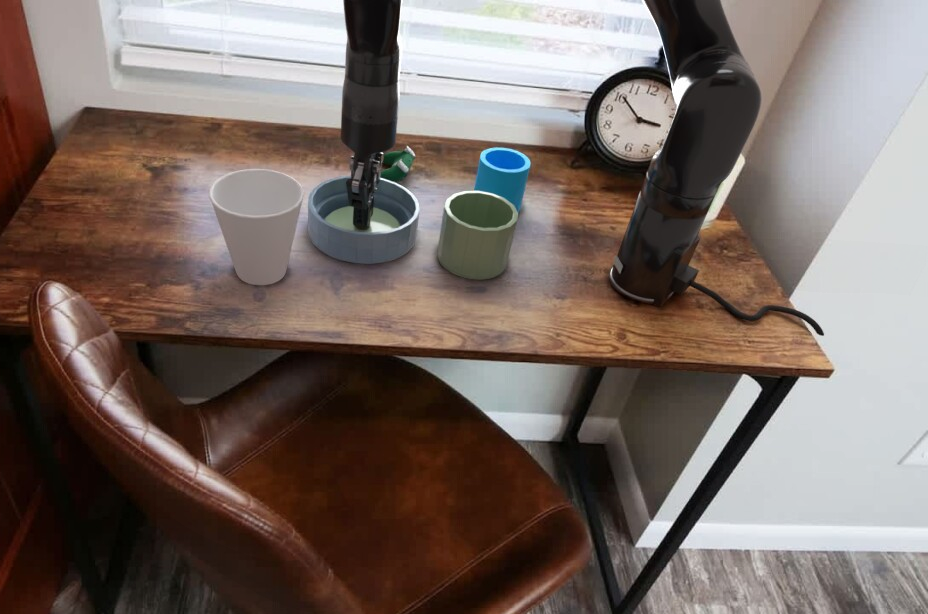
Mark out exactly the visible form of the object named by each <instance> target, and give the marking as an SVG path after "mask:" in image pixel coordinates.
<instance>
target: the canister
mask: <svg viewBox="0 0 928 614" xmlns="http://www.w3.org/2000/svg"><path fill="white" fill-rule="evenodd" d="M518 217H519V212H517V210H516V208H515V206H514V205H513V204H511V203H510V202H509V201H507V200H506V199H505V198H503V197H500V196H498V195H495V194H493V193H488V192H483V191H474V190H463V191H460V192H456V193H453V194H452V195H450V196H449V197H447V198H446V199H445V203H444V206H443V212H442V218H441V219H442V220H441V227H440V232H439V239H438V244H437V253H436V254H437V259H438V261H439V264H440V265H441V266H442V267H443V268H444V269H445V270H446V271H448V272H450V273H451V274H453V275H455V276H458V277H461V278H465V279H469V280H481V281H482V280H489V279H493V278H496V277H498V276H499V275H501V274H502V273H504V271H505V270H506V269H507V266H508V261H509V258H510V253H511V249H512V244H513V240H514V236H515V232H516V229H517V228H516V227H517V223H518Z"/></svg>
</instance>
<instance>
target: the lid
mask: <svg viewBox="0 0 928 614" xmlns="http://www.w3.org/2000/svg"><path fill="white" fill-rule="evenodd" d="M371 210H372V195H371V205H370V209H369V223H368V226H367V227H366V228H362V227H357V226H354V225H353V211H354V207H351V206H347V207H343V208H339V209H337V210H335V211H333V212H331V213H330V214H329V215H328V216H327V217H326V219H325V221H327V222H329V223H330V224H332V225H335V226H337V227H340V228H343V229H347V230H352V231H357V232H382V231H388V230H391V229H395V228H398V227H400V225H399V223H398V221H397V220H396V219H395V218H394V217H393V216H392V215H391V214H389V213H388V212H386V211H383V210H381V209H378V208H373V215H372V217H371Z"/></svg>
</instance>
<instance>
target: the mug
mask: <svg viewBox="0 0 928 614" xmlns="http://www.w3.org/2000/svg"><path fill="white" fill-rule="evenodd" d="M479 155H480V156H479V161H478V165H477V171H476V177H475V183H474V188H473V191H483V192H488V193H493V194H495V195H498V196H500V197H503V198H505V199H506V200H507V201H509V202H510V203H511V204H513V205H514V206H515V208H516V210H517V212H518V213H519V212H520V211H521V207H522V204H523V199H524V195H525V191H526V186H527V182H528V178H529V173H530V169H531V160H530V158H529V157H528V156H527V155H525V154H524V153H522V152H520V151H518V150H516V149H513V148H508V147H490V148H487V149H484V150H483V151H482V152H481V153H480V154H479Z"/></svg>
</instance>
